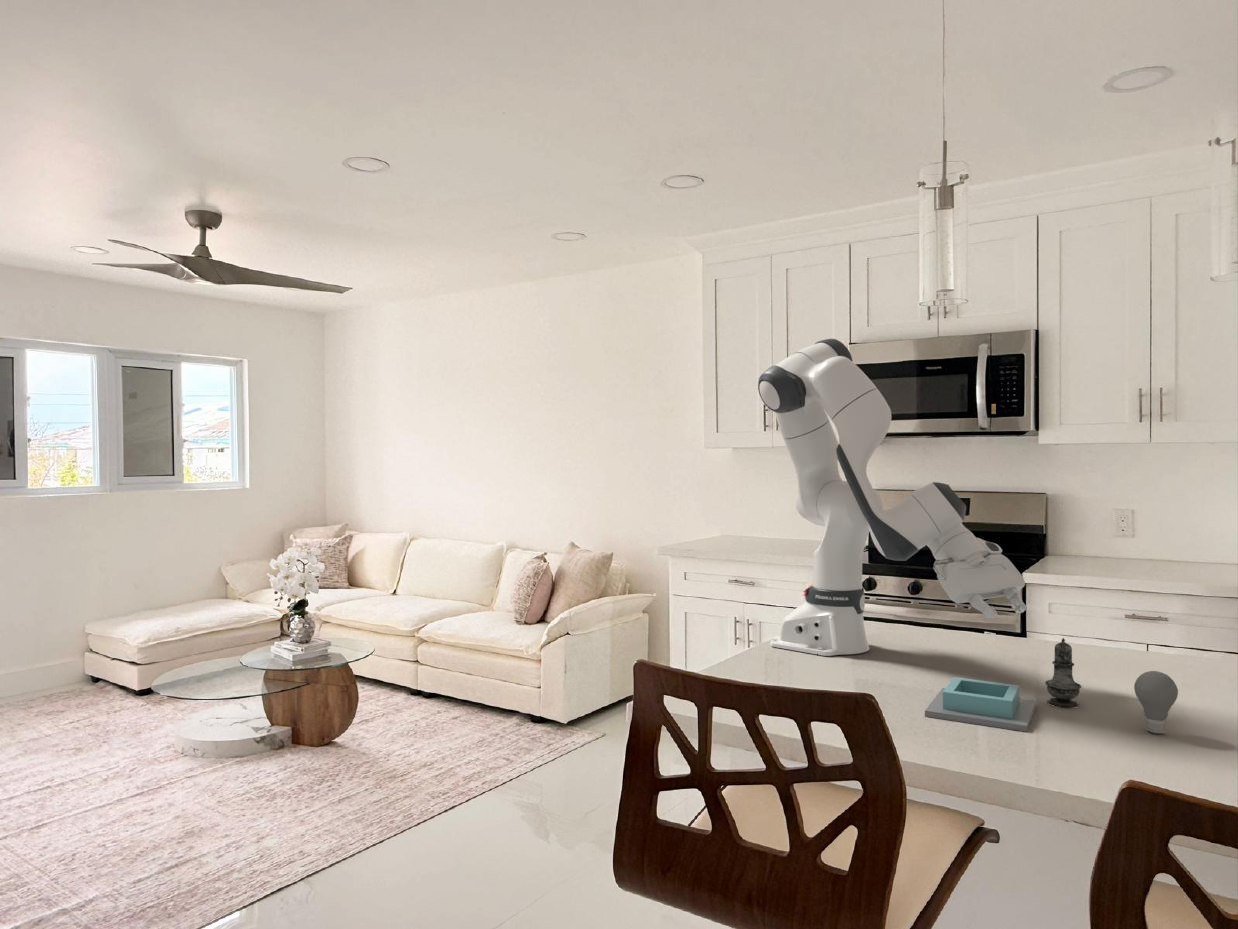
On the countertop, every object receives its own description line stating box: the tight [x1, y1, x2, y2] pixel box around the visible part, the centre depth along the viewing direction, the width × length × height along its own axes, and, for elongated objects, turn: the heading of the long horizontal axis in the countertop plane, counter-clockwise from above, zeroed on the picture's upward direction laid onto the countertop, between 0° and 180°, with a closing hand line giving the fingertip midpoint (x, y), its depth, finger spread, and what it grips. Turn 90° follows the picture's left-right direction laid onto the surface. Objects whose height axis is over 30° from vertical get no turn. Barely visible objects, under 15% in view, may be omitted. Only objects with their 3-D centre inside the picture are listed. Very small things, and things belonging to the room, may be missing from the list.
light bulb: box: [1133, 670, 1179, 735], centre depth 138 cm, size 6×6×10 cm
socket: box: [924, 676, 1037, 733], centre depth 150 cm, size 16×16×4 cm
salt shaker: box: [1044, 637, 1082, 709], centre depth 154 cm, size 6×6×12 cm
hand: (1008, 614), depth 162 cm, fingers open, 8 cm apart
